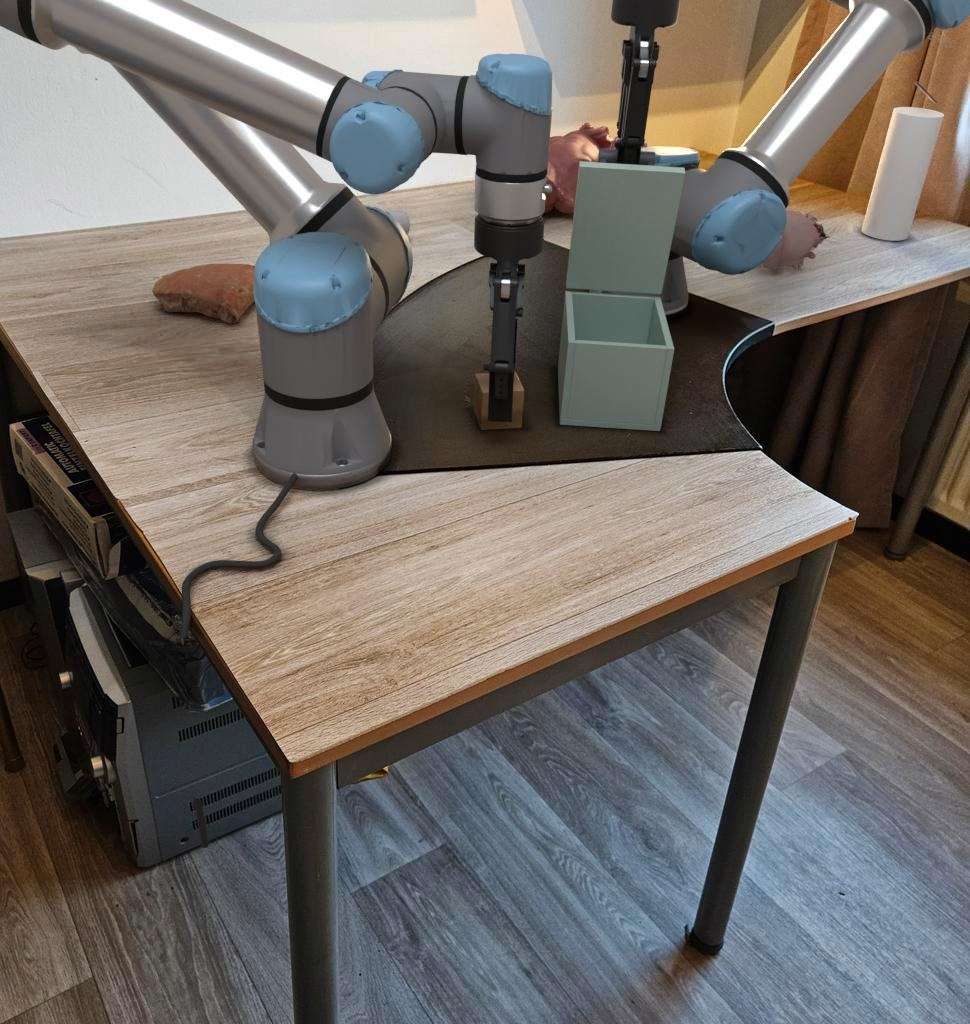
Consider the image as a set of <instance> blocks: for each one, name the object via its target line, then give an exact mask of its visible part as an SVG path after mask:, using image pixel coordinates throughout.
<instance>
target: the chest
mask: <svg viewBox="0 0 970 1024" xmlns="http://www.w3.org/2000/svg"><path fill="white" fill-rule="evenodd" d="M563 301H564V302H563V310H562V311H563V313H562V321H561V332H560V341H559V342H560V343H559V351H558V352H559V353H558V360H557V361H558V363H557V379H558V380H557V382H558V383H557V385H558V411H559V412H558V414H559V415H558V416H559V417H558V418H559V425H560V426H574V427H588V428H589V427H590V428H602V429H603V428H606V429H619V430H634V431H635V430H636V431H647V432H648V431H649V432H661V430H662V425H663V418H664V413H665V406H666V401H667V396H668V395H667V394H668V389H669V383H670V377H671V376H670V375H671V371H672V366H673V361H674V354H675V346H674V342H673V338H672V335H671V332H670V327H669V324H668V319H666V316H665V313H664V309H663V305H662V302H661V298H660V297H656V296H654V297H653V296H639V295H623V294H608V293H592V292H590V291H573V290H565V292H564V300H563Z"/></svg>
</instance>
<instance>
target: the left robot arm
mask: <svg viewBox="0 0 970 1024" xmlns="http://www.w3.org/2000/svg"><path fill="white" fill-rule="evenodd" d="M0 27H2V28H3V29H6V30H7V31H9V32H11V33H14V34H16V35H17V36H20V37H22V38H24V39H27V40H29V41H31V42H33V43H36V44H39V45H40V46H42V47H45V48H47V49H49V50H52V51H58V50H61V49H63V48H65V47H67V46H70V47H73V48H75V49H76V51H78V52H79V53H80V54H83V55H91V56H93V57H95V58H98V59H100V60H102V61H104V62H107V63H108V64H109V65H111V66H112V68H113V69H114V70H115V71H116V72H117V73H118V74H119V75H120V76H121V77H122V78H123V79H124V80H125V81H126V82H127V84H128V85H129V86H130V87H131V88H132V89H133V90H134V91H135V92H136V93H137V95H139V96H140V98H141V99H143V101H144V102H145V103H146V104H147V105H148V106H149V107H150V108H151V109H152V110H153V112H155V113H156V115H157V116H158V117H159V118H160V119H161V120H162V121H163V122H164V123H165V124H166V125H167V127H169V129H170V130H171V131H172V132H173V133H174V134H175V135H176V136H177V137H178V138H179V140H180V141H181V142H182V143H183V144H185V146H186V147H187V148H188V149H189V150H190V151H191V152H192V154H194V155H195V157H196V158H197V159H198V160H199V161H200V162H201V163H202V164H203V165H204V166H205V167H206V169H208V171H209V172H210V173H211V174H212V175H213V176H214V177H215V178H216V179H217V180H218V181H219V183H221V185H222V186H223V187H224V188H225V189H226V190H227V191H228V192H229V193H230V194H231V195H232V196H233V197H234V198H235V199H236V201H237V202H238V203H239V204H240V205H241V206H242V207H243V208H244V209H245V210H246V212H248V214H249V215H250V216H251V217H252V218H253V219H254V220H255V221H256V222H257V223H258V224H259V225H260V227H261V228H262V229H263V230H264V231H265V232H266V233H267V235H268V238H269V245H268V246H266V248H265V249H264V250H262V252H261V253H260V254H259V256H258V258H257V259H256V261H255V265H254V266H255V270H254V277H255V281H254V290H253V295H254V305H255V310H256V311H255V312H256V320H257V331H258V340H259V349H260V359H261V369H262V378H263V388H264V390H263V391H264V396H263V400H262V404H261V408H260V412H259V415H258V419H257V423H256V427H255V430H254V434H253V438H252V442H251V443H252V445H251V446H252V455H253V460H254V464H255V467H256V468H257V470H258V471H259V472H260V473H261V474H262V475H263V476H265V477H266V478H268V479H269V480H271V481H273V482H275V483H278V484H280V485H283V488H282V489H281V490H280V492H279V493H278V494H277V497H276V498H275V500H273V502H272V504H271V505H270V506H269V507H268V509H267V510H266V511H265V512H264V513H263V514H262V515H261V517H260V518H259V520H258V521H257V523H256V526H255V531H254V532H255V538H256V539H257V540H258V542H259V543H260V544H261V545H262V546H264V547H265V548H267V549H268V550H270V551H271V552H272V553H273V555H272V556H271V557H269V558H267V559H264V560H256V561H255V560H254V561H253V560H251V561H249V560H235V559H234V560H233V559H224V560H223V559H217V560H211V561H208V562H204V563H202V564H201V565H198V566H197V567H196V568H194V569H193V570H192V571H190V572H189V573H188V575H187V576H186V577H185V578H184V580H183V582H182V585H181V599H182V600H181V601H182V603H181V606H182V608H181V609H182V610H181V613H182V614H181V624H180V630H179V638H180V639H186V638H187V637H189V634H190V628H191V617H192V600H191V586H192V584H193V582H194V581H195V580H196V579H197V578H198V577H200V576H201V575H202V574H204V573H206V572H208V571H211V570H214V569H241V570H242V569H243V570H244V569H245V570H260V569H261V570H262V569H267V568H270V567H272V566H274V565H275V564H277V563H278V562H279V561H280V559H281V558H282V550H281V548H280V546H278V545H277V544H275V543H274V542H273V541H272V540H270V539H268V537H266V535H264V528H265V526H266V524H267V522H268V521H269V519H270V518H271V517H272V516H273V515H274V513H276V511H277V510H278V509H279V507H280V506H281V504H282V503H283V502H284V500H285V498H286V497H287V495H288V494H289V492H290V491H291V489H292V488H295V489H301V490H312V491H314V490H315V491H323V490H327V491H328V490H337V489H342V488H348V487H351V486H355V485H358V484H361V483H363V482H366V481H368V480H370V479H373V478H374V477H375V476H377V475H378V474H380V473H381V472H382V471H383V470H384V469H385V468H386V467H387V466H388V464H389V463H390V461H391V458H392V434H391V431H390V430H389V427H388V424H387V422H386V419H385V417H384V413H383V411H382V408H381V406H380V403H379V400H378V398H377V395H376V393H375V385H374V336H375V333H376V332H377V331H378V329H379V328H380V326H382V323H383V322H384V320H385V319H386V317H388V315H389V314H390V312H391V311H392V309H393V308H394V307H395V306H397V304H399V302H400V301H401V300H402V298H403V296H404V294H405V293H406V290H407V288H408V284H409V281H410V279H411V276H412V273H413V265H414V264H413V263H414V256H413V249H412V245H411V242H410V239H409V237H408V235H406V233H405V231H404V230H403V228H402V227H401V225H400V224H399V223H398V222H397V221H396V220H395V219H394V218H393V217H392V216H391V215H390V214H388V213H387V212H386V211H385V210H383V209H382V208H379V207H376V206H370V205H365V204H364V203H363V202H362V201H361V200H360V199H359V198H358V197H357V196H356V194H354V192H353V191H352V190H351V189H353V190H355V191H358V192H360V193H363V194H366V195H381V194H385V193H389V192H392V191H393V190H395V189H396V188H399V186H401V185H403V184H405V183H406V182H408V181H409V180H410V179H411V178H412V177H414V176H415V174H416V172H417V171H418V169H419V168H420V167H421V165H422V164H423V163H424V162H425V161H426V160H427V159H429V157H430V156H431V155H432V154H446V155H447V154H449V155H459V156H468V155H470V156H475V164H476V165H475V172H474V211H475V213H476V214H477V215H475V217H474V227H473V228H474V231H473V232H474V234H473V246H474V249H475V251H476V252H477V253H478V254H479V255H481V256H483V257H486V258H490V259H493V260H495V261H496V262H489V270H488V286H489V288H490V291H489V309H490V310H491V311H492V325H491V344H490V345H491V347H490V362H489V363H483V371H484V372H488V373H489V401H488V421H497V422H512V405H513V385H514V372H515V370H516V356H517V338H518V337H517V335H518V318H523V316H524V307H522V294H523V289H524V288H525V281H526V280H525V278H526V264H525V263H520V261H522V260H529V259H533V258H535V257H538V255H539V254H541V252H542V251H543V248H544V234H545V219H544V218H543V217H542V216H543V214H545V213H544V211H545V195H544V194H550V193H551V192H552V186H551V185H550V184H545V183H546V181H547V179H546V176H547V169H548V156H549V143H550V137H551V131H552V130H551V128H552V118H553V115H552V114H553V109H554V107H553V104H552V102H553V101H552V100H553V70H552V66H551V65H550V64H549V62H548V61H547V60H545V59H544V58H543V57H540V56H537V55H532V54H525V53H492V54H488V55H487V54H486V55H484V56H483V57H482V58H480V60H479V62H478V64H477V65H478V66H477V71H476V72H475V74H471V75H453V74H442V73H441V74H439V73H427V72H415V71H404V70H403V69H397V68H396V69H393V70H371V71H369V72H367V73H366V74H365V75H363V77H362V79H361V81H359V80H358V79H357V80H356V79H354V78H352V77H350V76H347V74H344V73H343V72H340V71H339V70H336V69H334V68H331V67H329V66H327V65H325V64H323V63H320V62H318V61H316V60H315V59H312V58H310V57H307V56H306V55H303V54H301V53H298V52H296V51H294V50H293V49H290V48H288V47H286V46H284V45H282V44H278V43H277V42H274V41H272V40H270V39H268V38H266V37H264V36H262V35H260V34H257V33H255V32H253V31H250V30H248V29H247V28H244V27H241V26H240V25H237V24H235V23H233V22H231V21H229V20H226V19H225V18H222V17H220V16H217V15H215V14H213V13H212V12H209V11H206V10H205V9H202V8H201V7H198V6H196V5H194V4H192V3H189V2H187V1H185V0H0ZM295 147H296V148H299V149H301V150H303V151H306V152H308V153H310V154H312V155H314V156H317V157H319V158H321V159H323V160H326V161H328V162H330V163H331V164H332V166H333V169H334V170H335V172H336V173H337V174H338V176H339V177H340V178H341V180H343V181H344V183H339V182H329V181H326V180H324V179H323V178H322V177H321V175H320V174H319V173H318V172H317V171H316V170H315V169H314V168H313V166H312V165H311V164H310V163H309V162H308V160H306V159H305V158H304V157H303V155H302V154H301V153H300V152H299V151H298V150H297V149H296V148H295ZM345 183H346V184H345ZM348 186H349V187H348ZM350 188H351V189H350ZM192 802H193V808H194V811H195V812H194V813H195V818H196V823H197V828H198V834H199V840H200V847H201V848H203V849H206V848H208V847H209V844H210V842H209V836H208V830H207V823H206V818H205V813H204V808H203V803H202V802H203V801H202V800H201V799H198V798H193V797H192Z"/></svg>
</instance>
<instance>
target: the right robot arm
mask: <svg viewBox="0 0 970 1024" xmlns="http://www.w3.org/2000/svg"><path fill="white" fill-rule="evenodd" d="M825 1H826V2H828V3H830V4H832V5H834V6H835V7H836V6H837V7H839V8H841V9H843V10H846V11H848V12H850V13H848V15H847V17H846V18H845V19H844V20H843V21H842V23H841V24H840V25H839V26H838V27H837V29H836V30H835V31H834V33H833V34H832V35H831V36H830V37H829V38H828V40H827V41H826V42H825V43H824V44H823V46H822V47H821V48H820V50H819V51H818V52H817V53H816V54H815V55H814V57H813V58H812V59H811V61H809V63H808V64H807V65H806V66H805V68H804V69H803V70H802V71H801V72H800V74H798V76H797V78H796V79H795V80H794V81H793V82H792V84H791V85H790V86H789V88H788V89H786V91H785V92H784V94H783V95H782V96H781V97H780V98H779V100H778V101H777V102H776V103H775V105H773V107H772V108H771V109H770V110H769V112H768V113H767V114H766V116H765V117H764V118H763V119H762V120H761V121H760V123H759V124H758V125H757V127H756V128H755V129H754V130H753V132H751V134H750V135H749V136H748V138H747V139H746V140H745V141H744V142H743V144H742V145H741V146H740V147H737V148H726V149H724V150H723V151H722V152H721V153H720V154H719V155H718V156H717V158H716V159H715V160H714V161H713V162H712V164H711V165H710V166H709V168H708V169H707V170H706V169H704V168H701V167H699V166H700V164H701V159H700V153H699V151H698V150H696V149H693V148H689V147H682V146H648V147H643V146H644V143H646V139H645V136H646V131H647V122H648V115H649V109H650V102H651V94H652V90H653V89H652V87H653V84H654V81H655V80H654V79H655V70H656V68H657V64H658V63H657V61H658V60H659V55H660V44H658V41H655V37H656V30H657V29H659V28H662V29H666V28H671V27H675V25H676V24H677V23H678V19H679V11H680V4H681V0H612V2H611V13H610V18H611V19H610V20H611V21H612V22H613V23H614V24H617V25H620V26H625V27H630V30H629V35H628V36H629V37H628V39H622V45H621V55H622V64H621V69H620V70H621V71H620V76H621V87H620V88H621V89H620V97H619V107H618V117H617V121H616V128H617V132H616V136H618V138H621V140H617V141H614V147H616V149H618V153H617V162H616V164H631V165H639V162H640V154H641V151H651V152H655V165H654V166H664V167H680V168H685V178H684V183H683V188H682V193H681V198H680V203H679V208H678V213H677V218H676V223H675V228H674V233H673V238H672V243H671V248H670V253H669V258H668V263H667V268H666V274H665V279H664V284H663V289H662V294H652V293H636V292H620V291H604V290H589V292H592V293H608V294H623V295H639V296H653V297H654V296H656V297H660V298H661V302H662V305H663V309H664V313H665V316H666V320H670V319H674V318H677V317H679V316H681V315H683V314H684V313H685V312H686V311H687V309H688V303H689V288H688V287H689V286H688V282H687V275H686V269H685V263H684V258H685V259H687V260H689V261H692V262H694V263H695V264H698V265H699V266H700V267H702V268H704V269H705V270H708V271H713V272H717V273H721V274H724V275H728V276H735V275H743V274H746V273H749V272H751V271H754V270H755V269H757V268H758V267H759V266H762V265H761V264H762V263H763V262H764V261H766V260H767V259H768V258H769V257H770V255H771V254H772V253H773V252H774V250H775V249H776V248H777V246H778V244H779V243H780V241H781V239H782V236H781V235H780V233H781V232H782V231H784V230H785V227H786V222H787V214H786V208H787V209H788V206H789V205H790V202H791V201H790V200H791V199H790V191H789V188H790V187H791V185H792V184H793V183H795V181H796V179H797V178H798V177H799V176H800V175H801V173H802V172H803V171H804V170H805V168H806V167H807V166H808V165H809V164H810V163H811V161H812V160H813V158H815V156H816V155H817V154H818V153H819V152H820V150H821V149H822V148H823V147H824V145H825V144H826V143H827V142H828V141H829V139H830V138H832V136H833V134H834V133H835V132H836V131H837V130H838V128H839V127H840V126H841V125H842V123H844V121H845V120H846V119H847V117H848V116H849V115H850V114H851V113H852V112H853V110H854V109H855V108H856V106H858V104H859V103H860V102H861V101H862V99H863V98H864V97H865V96H866V95H867V93H868V92H869V91H870V90H871V89H872V87H873V86H874V85H875V84H876V82H877V81H878V80H879V79H880V77H881V76H882V75H883V74H884V73H885V72H886V70H888V68H889V66H890V65H891V64H892V63H893V62H894V60H896V58H897V57H898V55H899V54H905V53H912V52H914V51H916V50H917V49H918V48H919V47H920V46H921V45H922V44H924V42H925V41H926V39H928V38H929V36H930V35H931V34H932V33H931V32H933V31H934V30H935V29H937V28H938V29H940V30H943V31H947V30H948V29H955V28H957V27H959V26H960V25H961V24H963V23H964V22H965V21H966V19H968V17H969V16H970V0H825ZM929 34H930V35H929ZM928 35H929V36H928ZM927 37H928V38H927ZM641 147H643V148H641Z"/></svg>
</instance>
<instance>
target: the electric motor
mask: <svg viewBox="0 0 970 1024" xmlns="http://www.w3.org/2000/svg"><path fill="white" fill-rule="evenodd" d="M385 212H387V213H388V214H390V215H391V216H392V217H393V218H394V219H395V220H396V221H397V222H398V223H399V224H400V225H401V227H402V228H403V230H404V231H405V233H406V235H407V236H408V235H409V233H410V229H411V222H410V218H409V216H408V213H407V212H406V210H404V209H403V208H397V209H392V210H387V211H385Z"/></svg>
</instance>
